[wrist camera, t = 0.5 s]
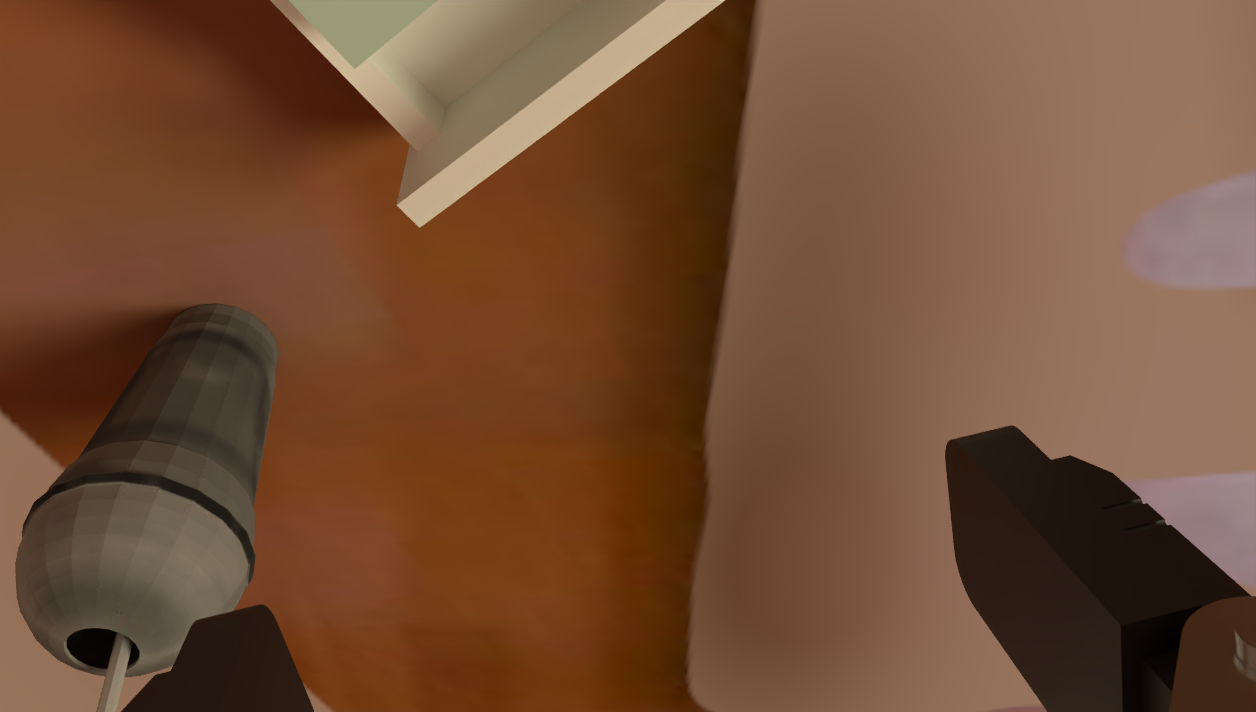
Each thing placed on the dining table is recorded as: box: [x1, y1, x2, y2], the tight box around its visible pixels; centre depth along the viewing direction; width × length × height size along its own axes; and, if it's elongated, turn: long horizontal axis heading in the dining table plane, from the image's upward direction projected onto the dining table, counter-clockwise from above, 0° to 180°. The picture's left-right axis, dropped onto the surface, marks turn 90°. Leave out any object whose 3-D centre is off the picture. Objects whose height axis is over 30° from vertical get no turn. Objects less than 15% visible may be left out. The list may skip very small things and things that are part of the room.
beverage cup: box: [15, 304, 279, 712], centre depth 36 cm, size 7×7×20 cm
